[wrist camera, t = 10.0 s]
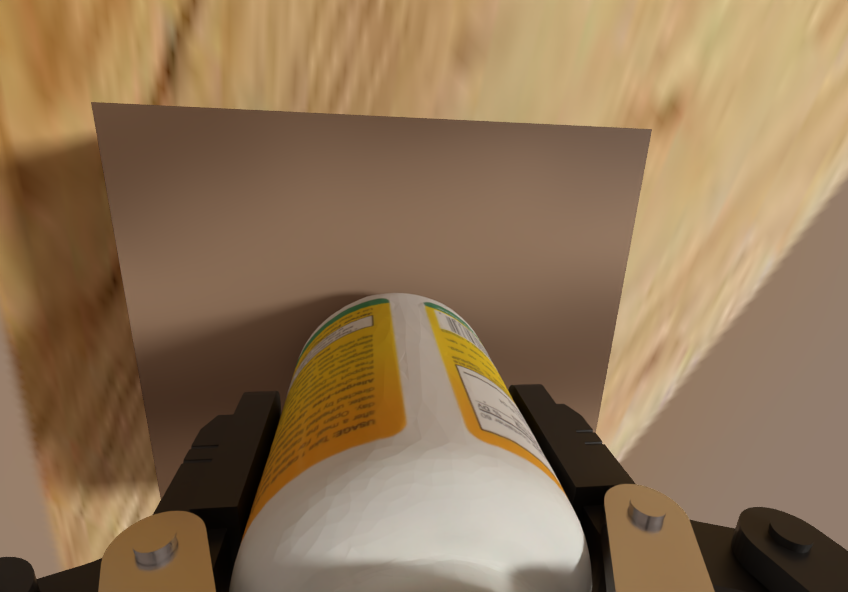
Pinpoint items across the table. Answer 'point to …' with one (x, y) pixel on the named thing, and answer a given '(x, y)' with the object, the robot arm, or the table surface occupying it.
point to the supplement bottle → (406, 469)
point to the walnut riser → (359, 244)
